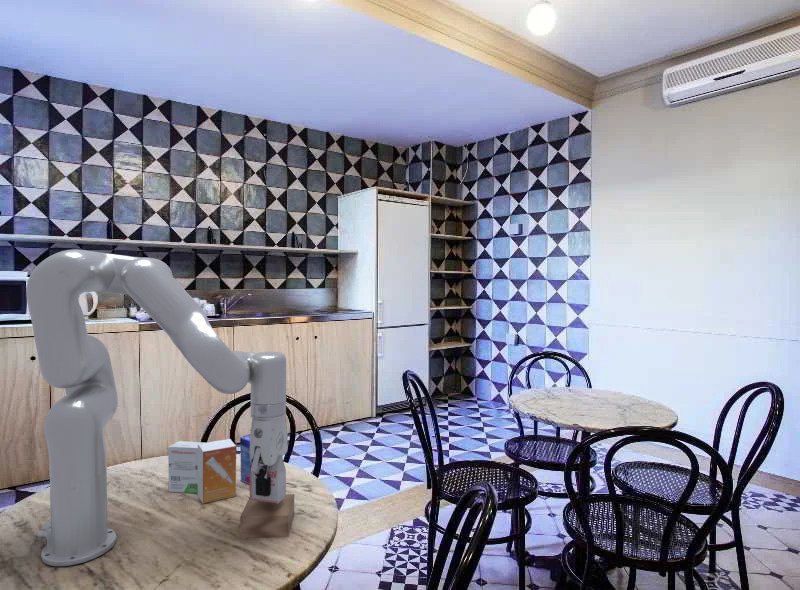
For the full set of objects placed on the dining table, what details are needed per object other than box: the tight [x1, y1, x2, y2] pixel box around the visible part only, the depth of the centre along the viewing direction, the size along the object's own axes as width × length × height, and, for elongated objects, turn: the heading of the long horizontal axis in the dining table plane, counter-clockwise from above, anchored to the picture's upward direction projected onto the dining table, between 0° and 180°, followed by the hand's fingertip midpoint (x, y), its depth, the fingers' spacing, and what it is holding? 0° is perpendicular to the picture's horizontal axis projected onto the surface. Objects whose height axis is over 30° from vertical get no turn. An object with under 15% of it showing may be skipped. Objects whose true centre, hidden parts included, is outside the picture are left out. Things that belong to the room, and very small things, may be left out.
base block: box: [239, 493, 295, 540], centre depth 108 cm, size 10×10×5 cm
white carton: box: [249, 455, 287, 504], centre depth 108 cm, size 4×7×10 cm, turn 76°
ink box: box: [167, 440, 204, 494], centre depth 126 cm, size 9×5×12 cm, turn 83°
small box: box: [197, 438, 237, 504], centre depth 122 cm, size 8×6×13 cm
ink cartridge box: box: [239, 429, 252, 486], centre depth 130 cm, size 10×6×14 cm, turn 54°
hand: (267, 489), depth 108 cm, fingers closed on white carton, 3 cm apart
